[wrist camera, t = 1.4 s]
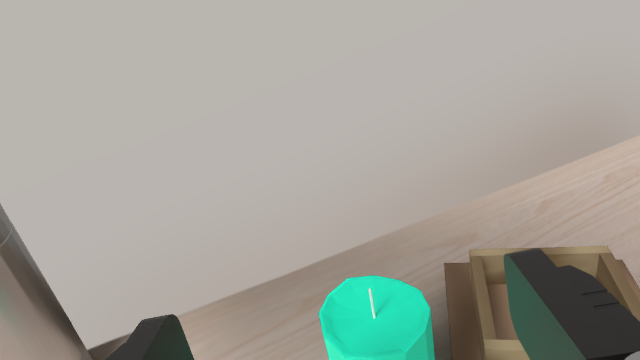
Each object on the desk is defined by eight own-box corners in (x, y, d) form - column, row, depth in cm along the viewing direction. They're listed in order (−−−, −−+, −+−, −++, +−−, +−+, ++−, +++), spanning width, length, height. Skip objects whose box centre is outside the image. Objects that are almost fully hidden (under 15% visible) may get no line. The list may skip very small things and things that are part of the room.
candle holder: (456, 419, 29) (454, 375, 27) (445, 273, 41) (442, 235, 39) (714, 435, 26) (732, 386, 24) (620, 271, 38) (627, 229, 36)
